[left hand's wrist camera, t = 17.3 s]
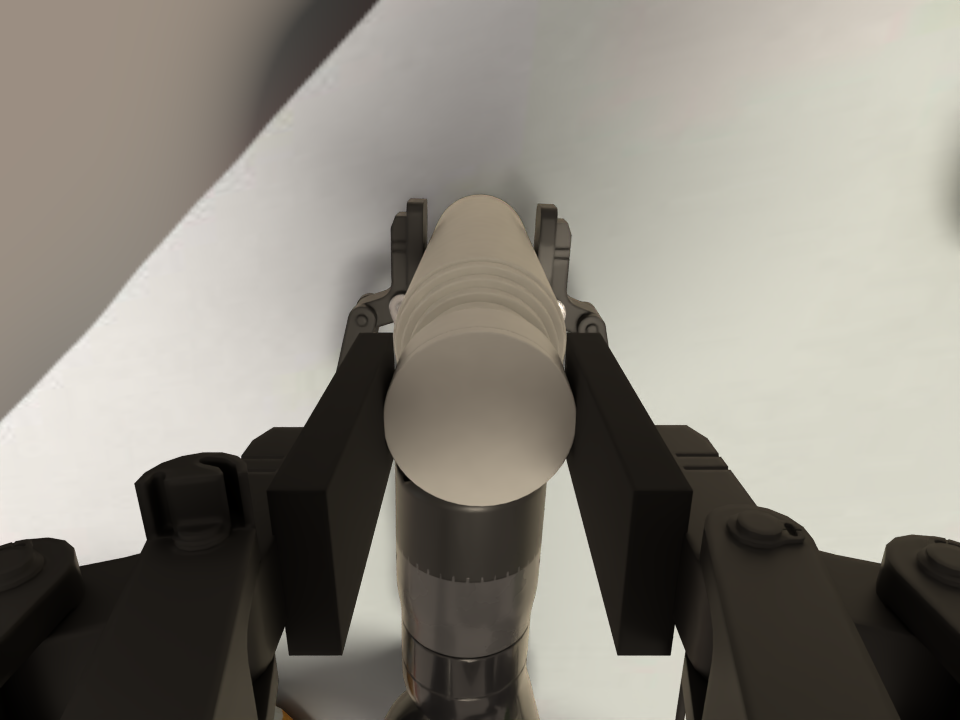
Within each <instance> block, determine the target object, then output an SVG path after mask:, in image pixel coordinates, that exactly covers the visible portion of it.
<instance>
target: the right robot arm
mask: <svg viewBox="0 0 960 720" xmlns="http://www.w3.org/2000/svg"><path fill="white" fill-rule="evenodd" d="M570 246H571V232H570V229H569V225H568V223H567V222H566V221H565V220H564V219H561V218H557V207H556V206H555V205H554V204H537V210H536V224H535V238H534V250H535V253H536V255H537V257H538V259H539V262H540V264H541V266H542V268H543V271H544V273H545V275H546V277H547V279H548V282H549V284H550V286H551V288H552V291H553V293H554V295H555V297H556V300H557V302H558V304H559V306H560V309H561V312H562V314H563V317H564V322H565V327H566V331H568V332H571V333H601V335H602V337H603V338H604V340H605V342H606V343H607V345H608V340H607V332H606V326H605V323H604V321H603V320H602V318H601V317H600V315H599V314H598V312H597V310H596V309H595V307H594V306H593V305H592V304H591V303H589V302H581V301H578V300H576V299H573V298H571V297H570V296H568V295H567V280H568V269H569V257H570ZM426 248H427V199H416V198H411V199H410V200H409V201H408V202H407V211H406V212H399V213H398V214H397V215H396V216H395V219H394V221H393V224H392V226H391V278H392V283H391V287H390V288H389V289H387V290H385V291H382V292H379V293H376V294H373V293H367V294H365V295H363V296H362V297H361V298H360V299H359V301H358V302H357V305H356V306H355V307H354V308H353V309H352V311H351V312H350V314H349V316H348V321H347V325H346V330H345V334H344V339H343V343H342V348H341V352H340V357H339V361H338V366H337V370H338V368H339V366H340V365H341V363H342V361H343V360H344V358H345V356H346V355H347V353H348V351H349V349H350V348H351V346H352V344H353V343H354V341H355V339H356V338H357V336H358V334H359V333H378V330H379V327H380V326H383V325H387V324H390V323H393V322H394V324H395V321H396V317H397V313H398V311H399V308H400V306H401V303H402V301H403V299H404V297H405V295H406V292H407V290H408V288H409V286H410V283H411V281H412V279H413V277H414V275H415V272H416V270H417V268H418V266H419V263H420V261H421V259H422V257H423V255H424V252H425V250H426ZM337 370H336V372H337ZM395 484H396V570H397V585H398V592H399V597H400V602H401V610H402V669H403V678H404V682H405V685H406V689H407V690H406V691H405V692H403V693H402V694H401V695H400V696H399V697H398V698H397V700H396V701H395V702H394V703H393V705H392V706H391V708H390V710H389V711H388V713H387V715H386V716H385V718H384V720H540V718H539V714H538V710H537V707H536V703H535V699H534V695H533V691H532V686H531V682H530V678H529V675H528V672H527V668H526V660H527V650H528V638H529V626H530V615H531V609H532V605H533V601H534V598H535V594H536V589H537V583H538V575H539V564H540V553H541V541H542V530H543V519H544V507H545V496H546V484H547V482H546V483H545V484H543V485H542V486H541V487H540V488H538V489H537V490H535V491H533V492H532V493H530V494H528V495H526V496H524V497H522V498H519V499H517V500H514V501H511V502H508V503H504V504H498V505H492V506H468V505H461V504H456V503H452V502H448V501H445V500H443V499H440V498H438V497H435V496H434V495H432V494H430V493H428V492H426V491H424V490H423V489H422V488H420V487H419V486H417V485H416V484H415V483H414V482H413V481H411V480H410V479H409V478H408V477H407V476H406V475H405V473H404V472H403V471H402V470H401V469H400V468H399V466H398V465H397V463H396V461H395Z"/></svg>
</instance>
